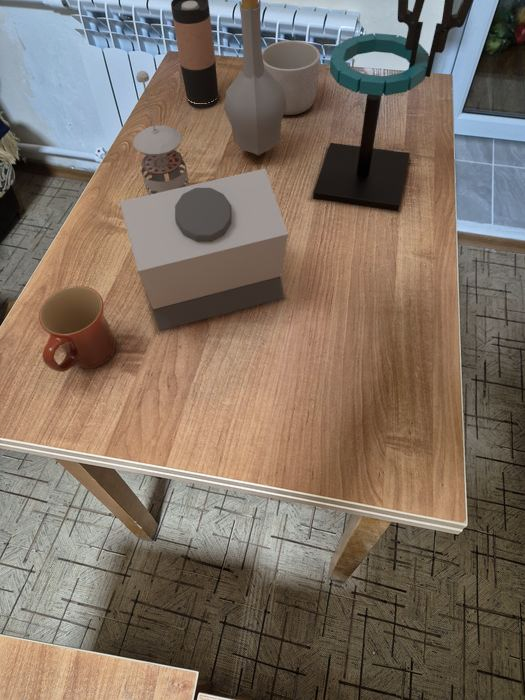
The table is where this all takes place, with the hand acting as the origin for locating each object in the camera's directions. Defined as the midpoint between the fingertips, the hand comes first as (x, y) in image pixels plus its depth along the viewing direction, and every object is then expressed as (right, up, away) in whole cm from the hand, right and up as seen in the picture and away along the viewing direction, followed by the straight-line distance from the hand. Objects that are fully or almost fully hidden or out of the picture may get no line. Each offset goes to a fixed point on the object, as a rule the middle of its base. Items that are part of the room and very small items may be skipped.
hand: (419, 71), depth 81 cm
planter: (-19, +11, +34) cm, 41 cm away
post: (-5, -11, +19) cm, 22 cm away
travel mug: (-38, +13, +37) cm, 55 cm away
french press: (-42, -16, +17) cm, 48 cm away
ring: (-6, +1, +2) cm, 7 cm away
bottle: (-26, -4, +25) cm, 36 cm away
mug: (-51, -46, -3) cm, 69 cm away
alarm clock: (-33, -34, +4) cm, 48 cm away
